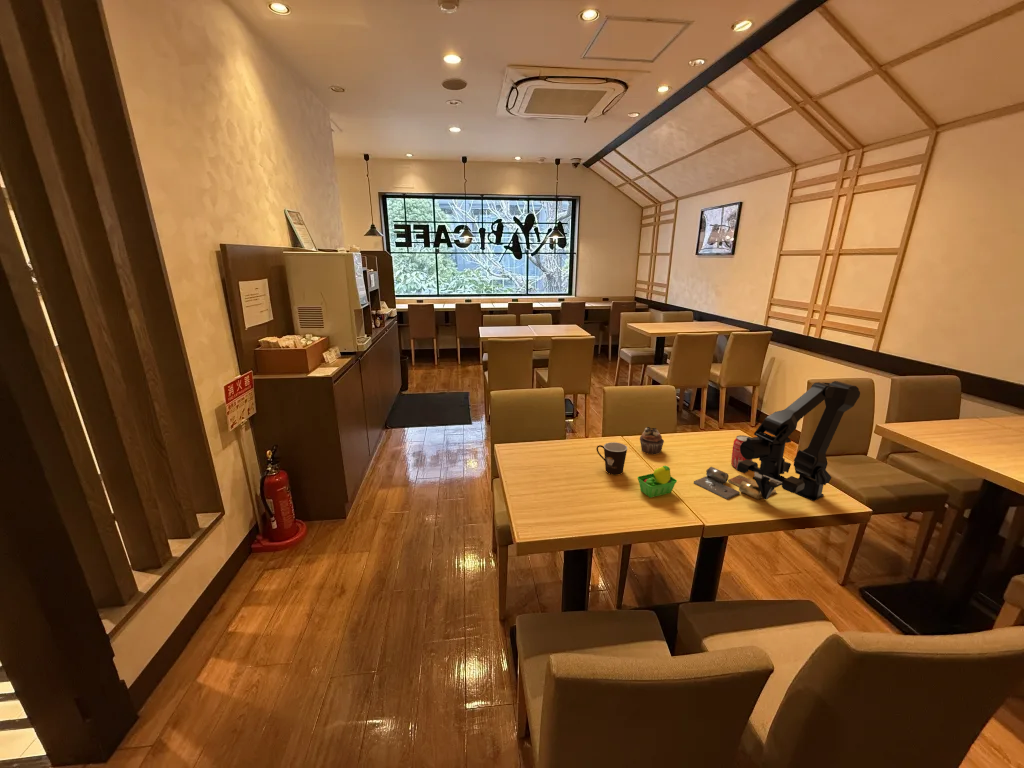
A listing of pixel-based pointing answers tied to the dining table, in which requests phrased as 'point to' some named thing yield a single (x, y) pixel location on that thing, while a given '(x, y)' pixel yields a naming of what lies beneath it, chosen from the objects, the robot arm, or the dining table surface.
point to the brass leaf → (748, 486)
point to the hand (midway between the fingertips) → (765, 498)
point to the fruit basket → (657, 482)
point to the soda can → (738, 450)
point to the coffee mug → (614, 457)
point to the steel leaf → (716, 483)
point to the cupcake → (651, 441)
